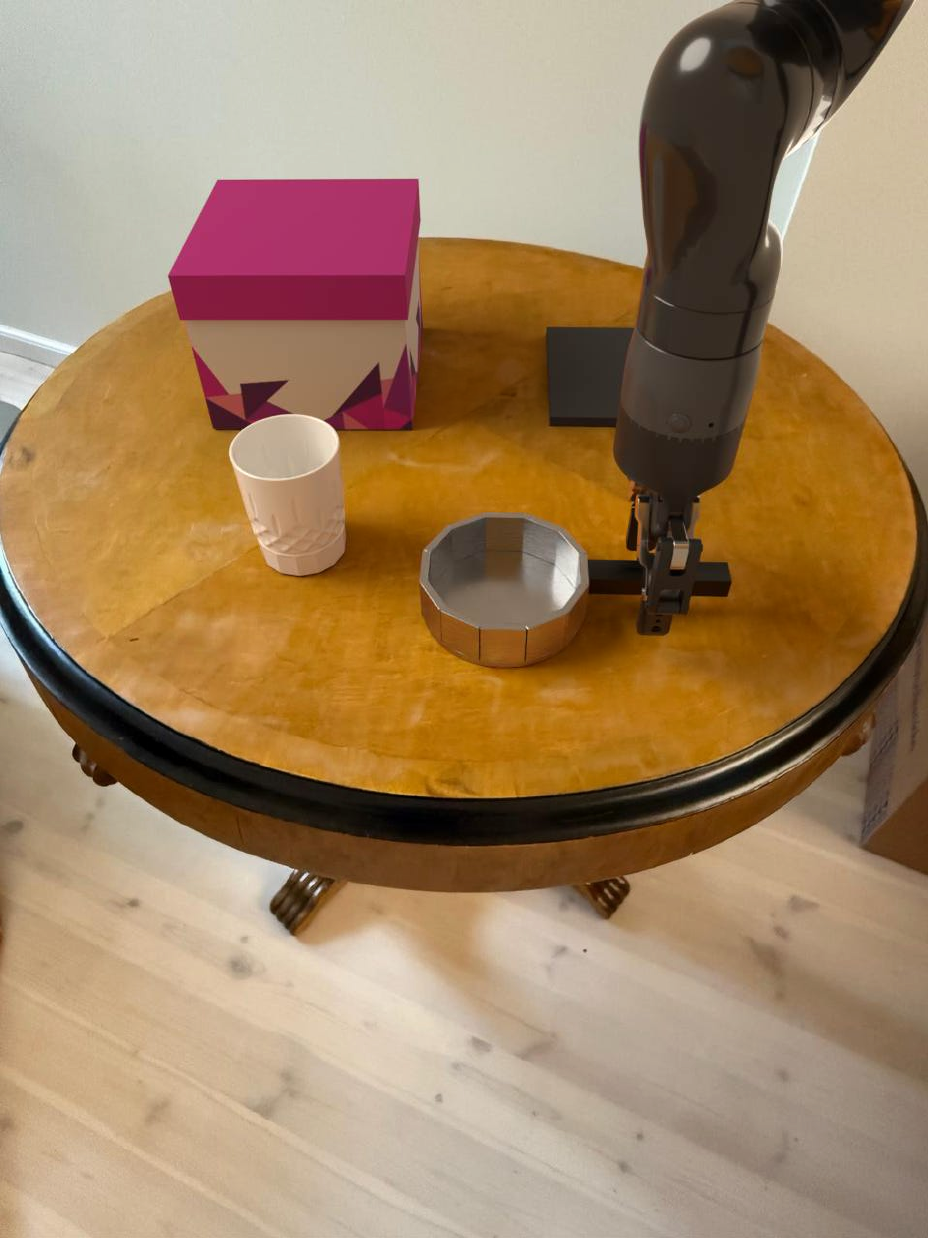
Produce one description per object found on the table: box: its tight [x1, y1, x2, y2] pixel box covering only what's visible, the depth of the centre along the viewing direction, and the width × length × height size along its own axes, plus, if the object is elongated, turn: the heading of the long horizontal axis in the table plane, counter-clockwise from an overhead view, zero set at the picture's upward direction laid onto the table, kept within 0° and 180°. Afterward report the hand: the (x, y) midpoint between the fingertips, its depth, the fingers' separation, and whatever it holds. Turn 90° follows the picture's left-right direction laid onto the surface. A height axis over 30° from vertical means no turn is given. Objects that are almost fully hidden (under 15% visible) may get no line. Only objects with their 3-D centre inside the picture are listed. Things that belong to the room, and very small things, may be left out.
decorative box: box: [167, 178, 424, 430], centre depth 83 cm, size 19×19×15 cm
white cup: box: [228, 414, 347, 577], centre depth 68 cm, size 8×8×10 cm
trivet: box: [545, 326, 634, 428], centre depth 87 cm, size 16×16×1 cm
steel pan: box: [418, 511, 733, 669], centre depth 65 cm, size 22×12×4 cm, turn 88°
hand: (645, 587), depth 65 cm, fingers open, 8 cm apart
